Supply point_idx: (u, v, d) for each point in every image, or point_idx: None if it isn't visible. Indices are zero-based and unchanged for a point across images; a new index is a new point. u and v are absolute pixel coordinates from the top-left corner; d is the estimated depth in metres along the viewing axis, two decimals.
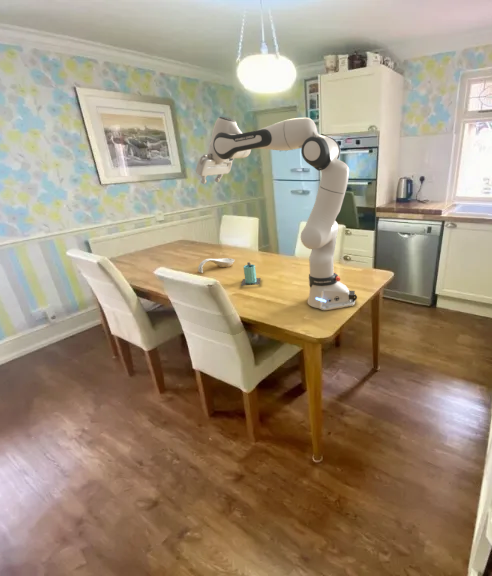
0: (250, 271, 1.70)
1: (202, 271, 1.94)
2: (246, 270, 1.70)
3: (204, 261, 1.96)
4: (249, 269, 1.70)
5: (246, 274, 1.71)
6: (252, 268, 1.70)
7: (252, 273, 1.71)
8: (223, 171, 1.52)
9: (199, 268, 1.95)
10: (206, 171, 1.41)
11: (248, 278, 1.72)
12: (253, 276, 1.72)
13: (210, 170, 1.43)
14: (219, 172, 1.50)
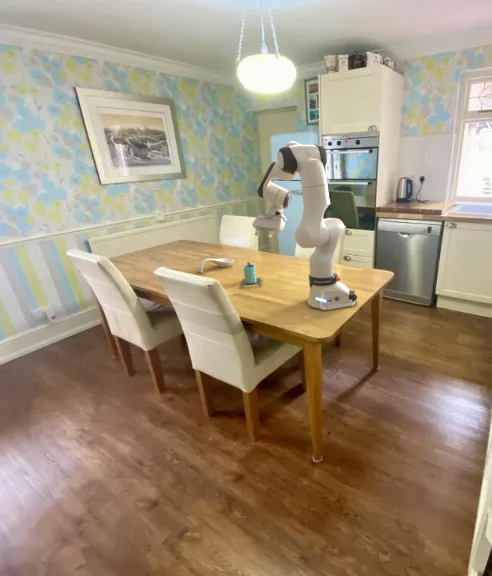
0: (250, 271, 1.70)
1: (202, 271, 1.94)
2: (246, 270, 1.70)
3: (204, 261, 1.96)
4: (249, 269, 1.70)
5: (246, 274, 1.71)
6: (252, 268, 1.70)
7: (252, 273, 1.71)
8: (272, 225, 1.74)
9: (199, 268, 1.95)
10: (256, 222, 1.81)
11: (248, 278, 1.72)
12: (253, 276, 1.72)
13: (260, 222, 1.79)
14: (268, 225, 1.75)
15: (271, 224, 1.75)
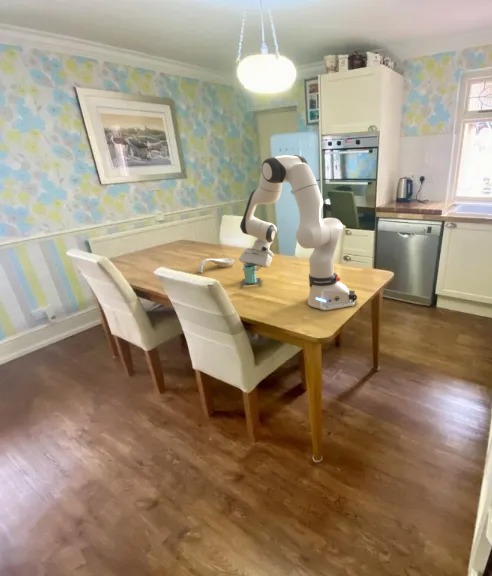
0: (250, 271, 1.70)
1: (201, 271, 1.95)
2: (246, 270, 1.70)
3: (204, 261, 1.96)
4: (249, 269, 1.70)
5: (246, 274, 1.71)
6: (252, 268, 1.70)
7: (252, 273, 1.71)
8: (258, 261, 1.70)
9: (199, 268, 1.95)
10: (242, 257, 1.77)
11: (248, 278, 1.72)
12: (253, 276, 1.72)
13: (246, 257, 1.76)
14: (254, 261, 1.72)
15: (258, 260, 1.71)
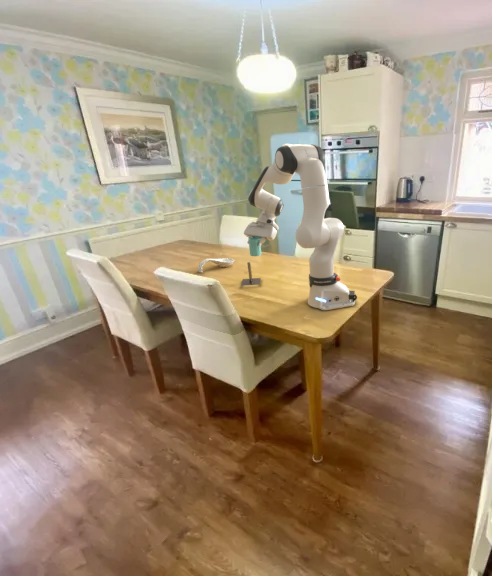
0: (255, 243, 1.70)
1: (201, 271, 1.95)
2: (251, 242, 1.70)
3: (204, 261, 1.96)
4: (254, 241, 1.70)
5: (251, 246, 1.71)
6: (257, 240, 1.70)
7: (257, 245, 1.71)
8: (263, 234, 1.70)
9: (199, 268, 1.95)
10: (247, 230, 1.77)
11: (253, 251, 1.72)
12: (258, 249, 1.72)
13: (251, 230, 1.76)
14: (259, 234, 1.72)
15: (262, 232, 1.71)
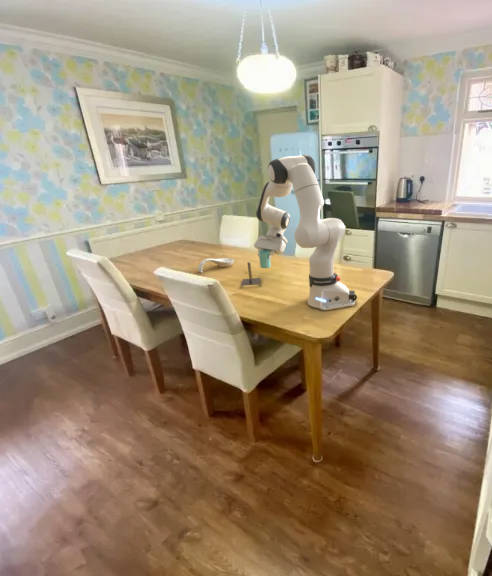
0: (265, 256, 1.80)
1: (201, 271, 1.95)
2: (261, 255, 1.79)
3: (204, 261, 1.96)
4: (264, 254, 1.79)
5: (261, 259, 1.80)
6: (267, 253, 1.80)
7: (267, 258, 1.80)
8: (273, 247, 1.80)
9: (199, 268, 1.95)
10: (257, 243, 1.86)
11: (263, 263, 1.81)
12: (268, 261, 1.81)
13: (261, 243, 1.85)
14: (269, 247, 1.81)
15: (272, 246, 1.80)
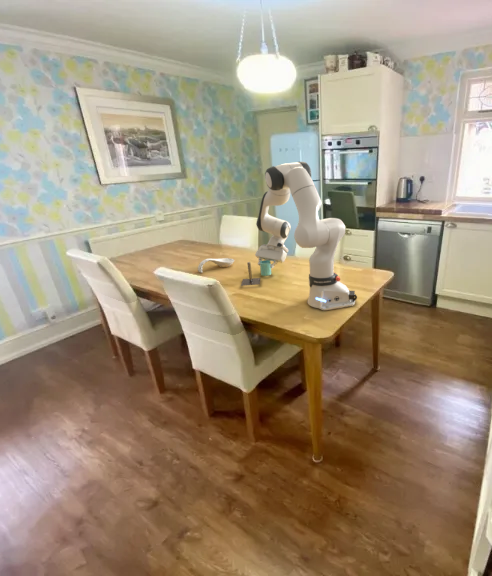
0: (266, 266, 1.82)
1: (201, 271, 1.95)
2: (262, 265, 1.82)
3: (204, 261, 1.96)
4: (265, 264, 1.81)
5: (262, 269, 1.83)
6: (268, 263, 1.82)
7: (268, 268, 1.83)
8: (274, 256, 1.82)
9: (199, 268, 1.95)
10: (258, 253, 1.89)
11: (264, 273, 1.83)
12: (269, 271, 1.84)
13: (262, 253, 1.87)
14: (270, 256, 1.83)
15: (273, 255, 1.83)
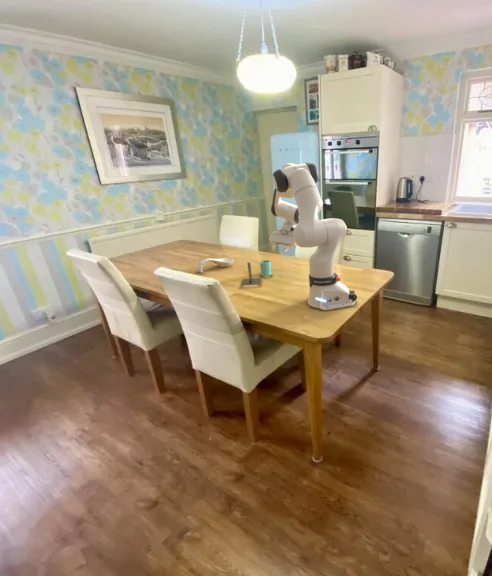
0: (266, 266, 1.82)
1: (201, 271, 1.95)
2: (262, 265, 1.82)
3: (204, 261, 1.96)
4: (265, 264, 1.81)
5: (262, 269, 1.83)
6: (268, 263, 1.82)
7: (268, 268, 1.83)
8: (287, 240, 1.89)
9: (199, 268, 1.95)
10: (272, 237, 1.96)
11: (264, 273, 1.83)
12: (269, 271, 1.84)
13: (276, 237, 1.95)
14: (283, 240, 1.91)
15: (286, 239, 1.90)
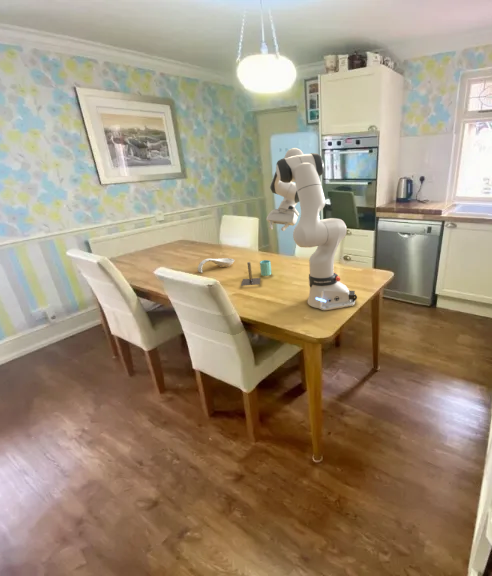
0: (266, 266, 1.82)
1: (201, 271, 1.95)
2: (262, 265, 1.82)
3: (204, 261, 1.96)
4: (265, 264, 1.81)
5: (262, 269, 1.83)
6: (268, 263, 1.82)
7: (268, 268, 1.83)
8: (285, 219, 1.84)
9: (199, 268, 1.95)
10: (270, 217, 1.91)
11: (264, 273, 1.83)
12: (269, 271, 1.84)
13: (273, 216, 1.90)
14: (281, 219, 1.86)
15: (284, 218, 1.85)
